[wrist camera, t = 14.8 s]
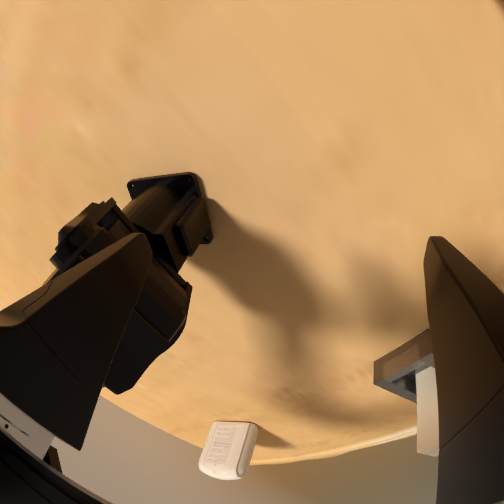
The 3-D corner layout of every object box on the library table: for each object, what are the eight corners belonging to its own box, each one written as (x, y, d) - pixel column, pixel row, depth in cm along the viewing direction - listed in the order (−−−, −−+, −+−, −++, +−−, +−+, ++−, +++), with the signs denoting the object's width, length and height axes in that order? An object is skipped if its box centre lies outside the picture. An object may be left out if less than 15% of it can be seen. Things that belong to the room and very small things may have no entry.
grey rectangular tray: (373, 361, 33) (373, 383, 31) (427, 329, 28) (431, 352, 25) (436, 393, 35) (437, 412, 33) (483, 368, 30) (486, 388, 28)
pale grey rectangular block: (415, 374, 31) (416, 452, 24) (436, 362, 29) (442, 444, 22) (432, 383, 32) (435, 456, 24) (452, 373, 30) (458, 448, 22)
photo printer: (222, 427, 59) (205, 477, 50) (210, 419, 57) (191, 471, 48) (262, 428, 54) (247, 484, 45) (251, 420, 52) (234, 479, 43)
